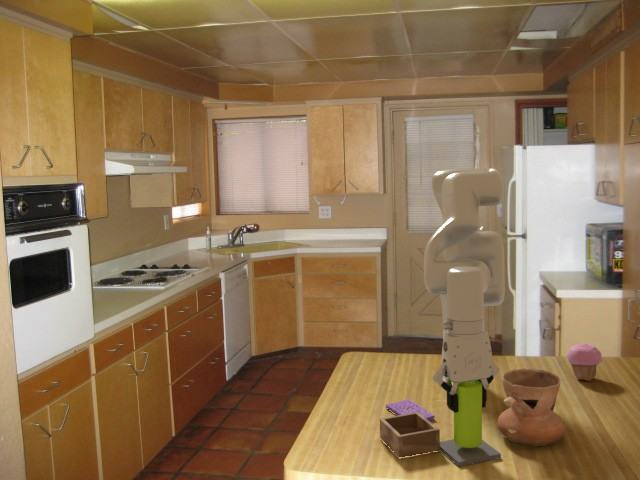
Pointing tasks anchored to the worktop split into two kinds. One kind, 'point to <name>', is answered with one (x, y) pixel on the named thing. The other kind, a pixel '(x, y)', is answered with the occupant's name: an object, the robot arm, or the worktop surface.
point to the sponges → (409, 409)
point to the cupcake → (584, 360)
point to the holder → (409, 434)
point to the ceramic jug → (531, 407)
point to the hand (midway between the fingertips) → (466, 407)
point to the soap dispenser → (468, 415)
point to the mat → (468, 453)
